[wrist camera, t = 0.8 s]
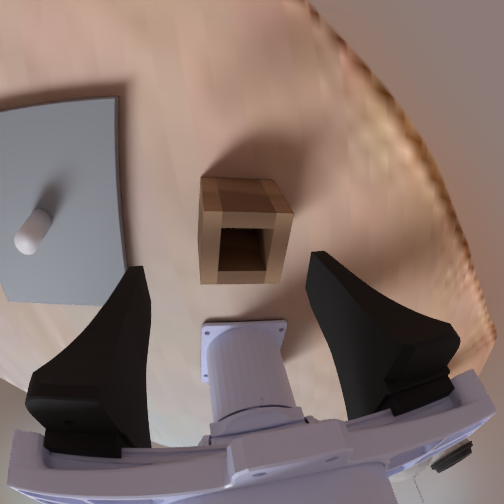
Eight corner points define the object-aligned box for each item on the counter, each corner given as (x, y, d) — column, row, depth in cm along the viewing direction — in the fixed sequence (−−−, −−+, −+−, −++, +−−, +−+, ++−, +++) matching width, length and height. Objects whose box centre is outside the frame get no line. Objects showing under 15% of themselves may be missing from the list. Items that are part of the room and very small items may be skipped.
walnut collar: (263, 241, 25) (279, 283, 21) (197, 240, 24) (200, 284, 20) (273, 180, 22) (293, 213, 18) (200, 177, 21) (203, 211, 17)
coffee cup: (458, 396, 60) (484, 443, 48) (435, 419, 66) (457, 463, 54) (426, 408, 58) (452, 461, 45) (403, 431, 64) (425, 480, 52)
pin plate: (131, 296, 26) (126, 333, 22) (12, 292, 23) (-4, 325, 20) (118, 95, 17) (101, 106, 14) (-29, 116, 14) (-63, 133, 11)
